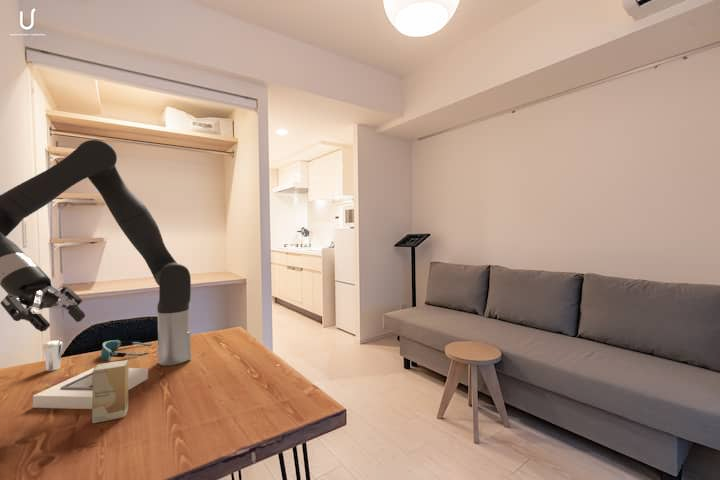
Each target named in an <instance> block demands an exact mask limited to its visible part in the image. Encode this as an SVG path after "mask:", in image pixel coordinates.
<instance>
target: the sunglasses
mask: <svg viewBox="0 0 720 480" xmlns="http://www.w3.org/2000/svg"><path fill="white" fill-rule="evenodd" d="M132 345H142V346H146V347H150V346H153V344H150V343H146V342H145V343H144V342H139V341H123V340H119V339H116V340H115V339H113V340H108V341H104V342H103V343H102V349H101V351H100V352H101V353H100V358H101V359H102V360H103V361H110V360H112V358H124V357H125V356H130V357H132V356H144V355H148V354H150V352H140V353H131V352H130V353H128V352H114V351H117V350H119V348H120V346H132Z"/></svg>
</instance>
